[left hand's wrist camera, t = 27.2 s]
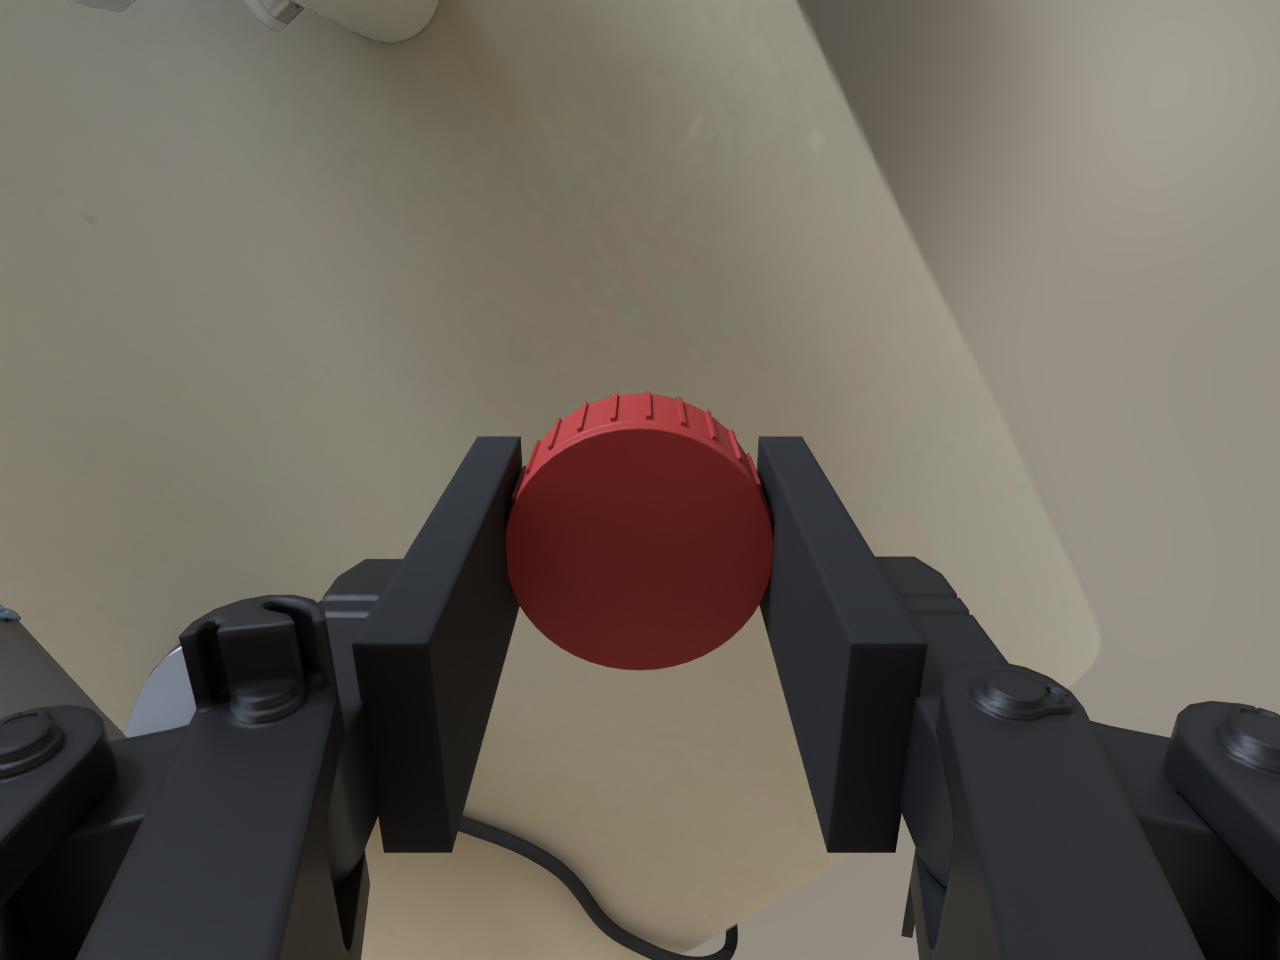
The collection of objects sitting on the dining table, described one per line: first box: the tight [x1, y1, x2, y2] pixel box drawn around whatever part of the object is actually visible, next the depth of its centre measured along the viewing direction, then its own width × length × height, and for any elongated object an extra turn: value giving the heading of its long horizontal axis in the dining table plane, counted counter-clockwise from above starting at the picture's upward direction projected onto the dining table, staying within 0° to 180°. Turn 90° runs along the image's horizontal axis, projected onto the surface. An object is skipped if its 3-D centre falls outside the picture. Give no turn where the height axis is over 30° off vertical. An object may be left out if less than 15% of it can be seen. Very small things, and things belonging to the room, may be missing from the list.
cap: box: [505, 391, 774, 670], centre depth 13 cm, size 4×4×2 cm
